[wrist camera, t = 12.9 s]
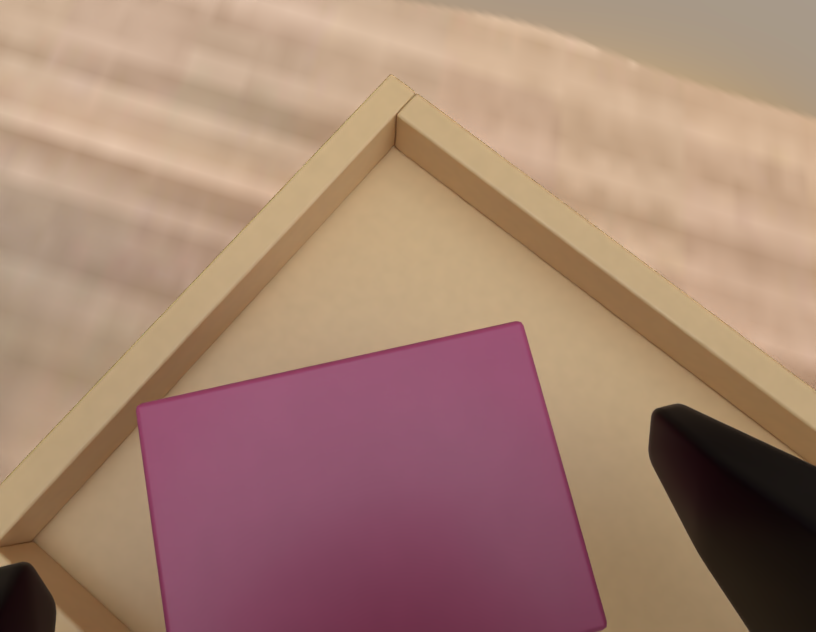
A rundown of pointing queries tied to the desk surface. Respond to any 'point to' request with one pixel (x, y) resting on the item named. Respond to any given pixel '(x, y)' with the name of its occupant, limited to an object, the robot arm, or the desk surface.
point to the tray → (406, 324)
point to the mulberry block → (370, 497)
